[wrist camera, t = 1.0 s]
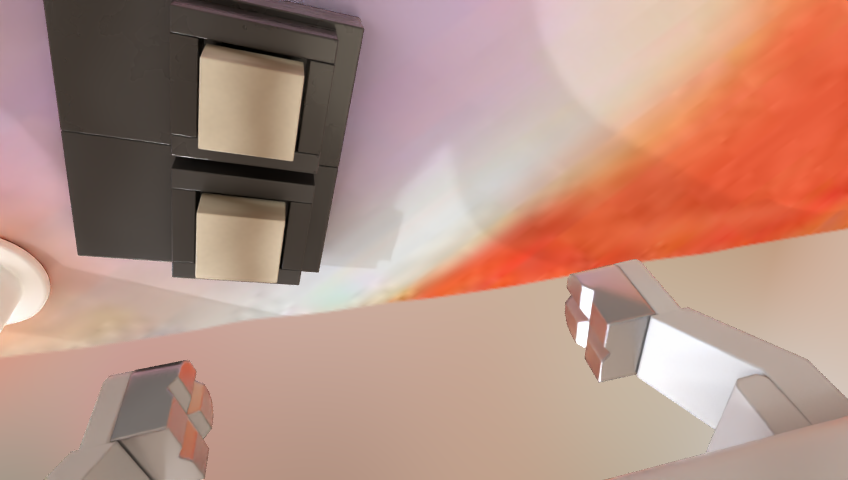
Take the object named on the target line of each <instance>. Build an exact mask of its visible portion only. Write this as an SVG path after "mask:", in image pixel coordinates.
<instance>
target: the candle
mask: <svg viewBox="0 0 848 480" xmlns="http://www.w3.org/2000/svg"><path fill="white" fill-rule="evenodd" d="M49 294H50V281H49V277H48V275H47V273H46V271H45V269H44V268H43V266H42V265H41V264H40V263H39V262H38V261H37V260H36V259H35V258H34V257H33V256H32V255H31V254H29V253H28V252H27V251H25V250H24V249H22V248H20V247H19V246H17V245H15V244H13V243H11V242H8V241H6V240H3V239H0V332H1V331H2V329H3V327H4V326H5V325H8V324H13V323H17V322H21V321H24V320H26V319H28V318H30V317H32V316H33V315H35V314H36V313H37V312H39V311H40V310H41V309H42V307H43V306H44V304H45V303H46V301H47V299H48V297H49Z"/></svg>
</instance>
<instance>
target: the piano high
mask: <svg viewBox="0 0 848 480" xmlns="http://www.w3.org/2000/svg"><path fill="white" fill-rule="evenodd" d="M43 2H44V10H45V17H46V24H47V32H48V39H49V46H50V54H51V61H52V69H53V76H54V83H55V91H56V98H57V105H58V113H59V120H60V127H61V130H63V131H71V132H78V133H86V134H93V135H101V136H108V137H115V138H123V139H130V140H138V141H145V142H153V143H160V144H167V145H171V155H172V156H179V157H187V158H195V159H203V160H210V161H218V162H226V163H234V164H241V165H249V166H257V167H265V168H272V169H280V170H288V171H296V172H303V173H311V174H317V172H318V166H319V165H323V166H331V167H338V166H339V161H340V156H341V150H342V145H343V140H344V134H345V129H346V124H347V118H348V113H349V108H350V102H351V97H352V92H353V86H354V81H355V76H356V70H357V65H358V60H359V54H360V49H361V44H362V38H363V33H364V28H363V25H362V23H361V20H360V18H359V17H354V16H350V15H346V14H341V13H337V12H332V11H328V10H324V9H319V8H315V7H310V6H306V5H302V4H297V3H293V2H289V1H284V0H43ZM206 44H212V45H217V46H223V47H228V48H233V49H238V50H243V51H248V52H253V53H259V54H264V55H269V56H274V57H279V58H284V59H290V60H295V61H300V62H303V64H304V84H303V91H302V99H301V106H300V114H299V122H298V129H297V137H296V144H295V152H294V159H293V161H286V160H279V159H271V158H264V157H256V156H249V155H241V154H234V153H227V152H219V151H212V150H204V149H199V148H198V119H199V69H200V56H201V54H202V52H203V50H204V47H205V45H206Z"/></svg>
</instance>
